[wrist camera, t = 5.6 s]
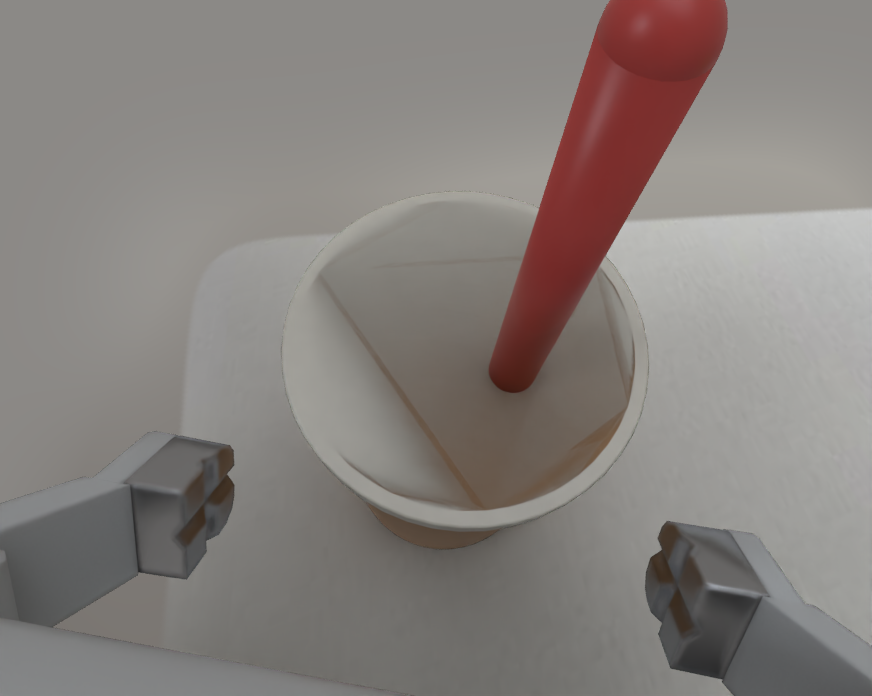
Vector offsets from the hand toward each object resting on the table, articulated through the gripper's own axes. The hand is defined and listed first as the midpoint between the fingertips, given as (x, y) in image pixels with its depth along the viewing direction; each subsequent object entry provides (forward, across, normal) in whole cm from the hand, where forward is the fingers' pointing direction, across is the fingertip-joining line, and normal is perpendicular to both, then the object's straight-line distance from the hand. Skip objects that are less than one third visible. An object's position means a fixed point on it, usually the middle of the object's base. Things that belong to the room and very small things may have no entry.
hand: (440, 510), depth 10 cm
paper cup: (+8, 0, +4) cm, 8 cm away
